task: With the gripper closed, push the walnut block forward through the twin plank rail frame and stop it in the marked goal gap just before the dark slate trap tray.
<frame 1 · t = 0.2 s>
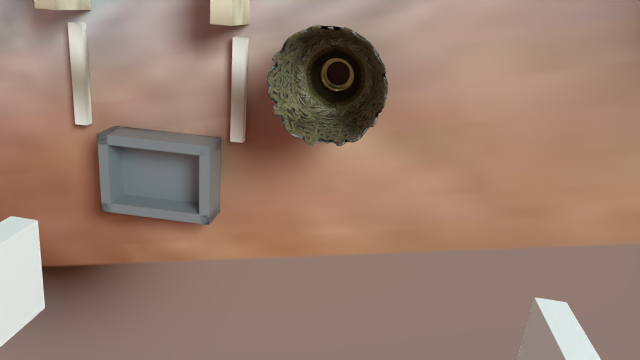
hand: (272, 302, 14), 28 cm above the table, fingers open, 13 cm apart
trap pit: (168, 169, 43), on the table
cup: (338, 73, 39), on the table
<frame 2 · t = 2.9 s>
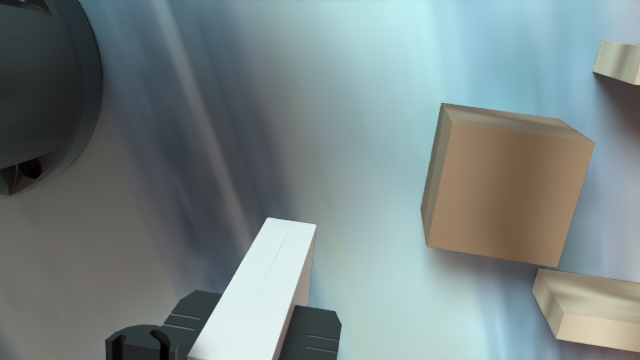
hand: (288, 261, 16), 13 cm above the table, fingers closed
block: (486, 165, 28), on the table
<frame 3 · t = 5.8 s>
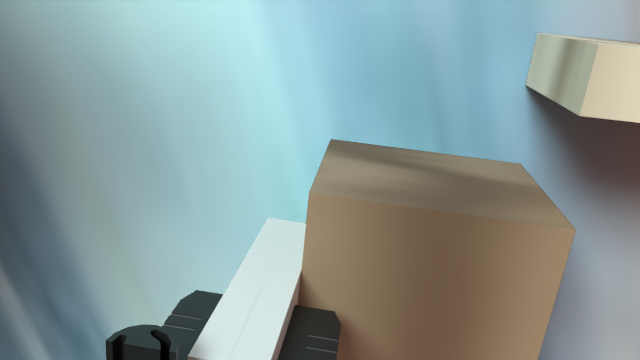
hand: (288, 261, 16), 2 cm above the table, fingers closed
block: (409, 236, 17), on the table, touching gripper
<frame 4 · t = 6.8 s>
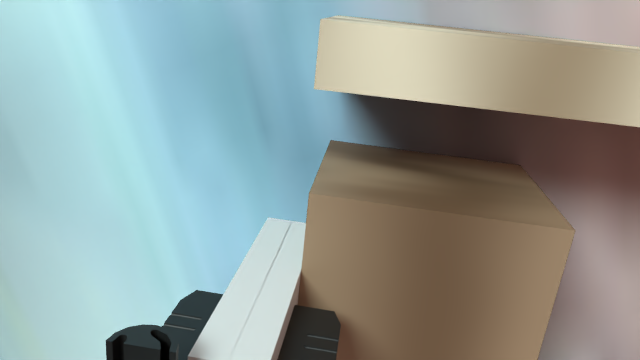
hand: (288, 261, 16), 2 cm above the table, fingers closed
block: (408, 237, 17), on the table, touching gripper
twin plank rail frame: (464, 249, 17), on the table
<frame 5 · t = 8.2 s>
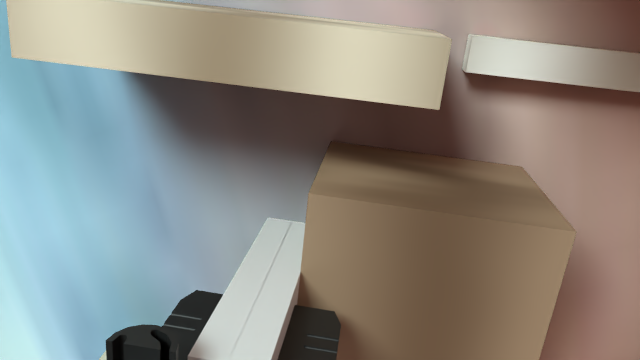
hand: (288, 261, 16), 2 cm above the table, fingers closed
block: (409, 238, 17), on the table, touching gripper
twin plank rail frame: (252, 224, 18), on the table
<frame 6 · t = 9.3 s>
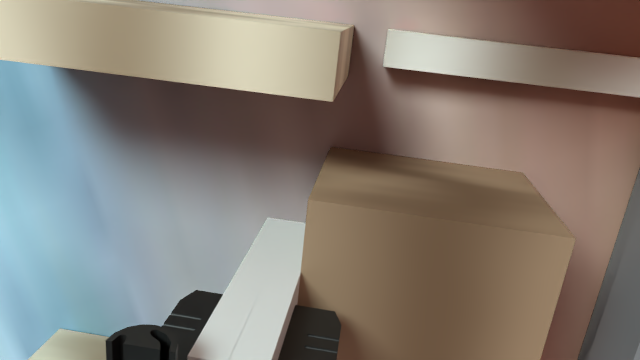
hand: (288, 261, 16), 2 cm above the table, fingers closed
block: (409, 243, 17), on the table, touching gripper
twin plank rail frame: (185, 218, 18), on the table
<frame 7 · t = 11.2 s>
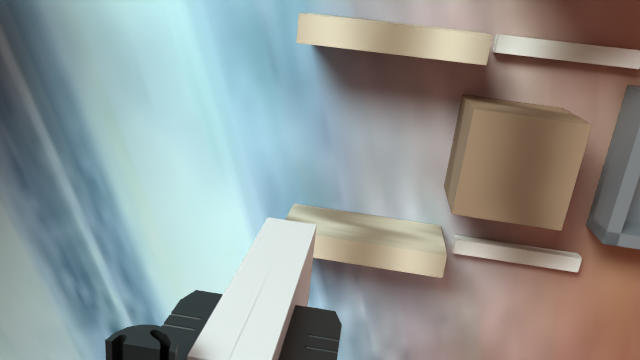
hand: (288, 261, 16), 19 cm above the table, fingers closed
block: (500, 148, 32), on the table
twin plank rail frame: (377, 135, 33), on the table
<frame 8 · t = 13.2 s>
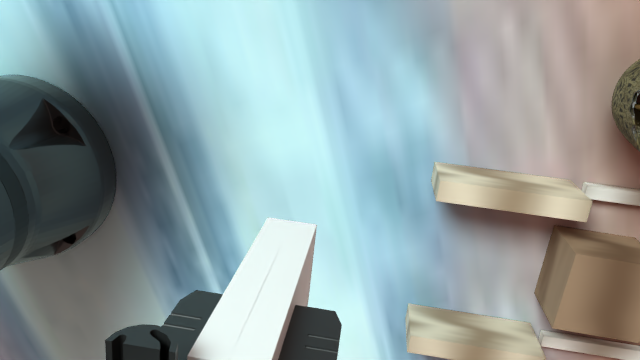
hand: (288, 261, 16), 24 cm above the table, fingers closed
block: (582, 265, 40), on the table
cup: (639, 90, 36), on the table
twin plank rail frame: (482, 254, 41), on the table
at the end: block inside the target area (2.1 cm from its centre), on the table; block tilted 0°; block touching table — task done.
